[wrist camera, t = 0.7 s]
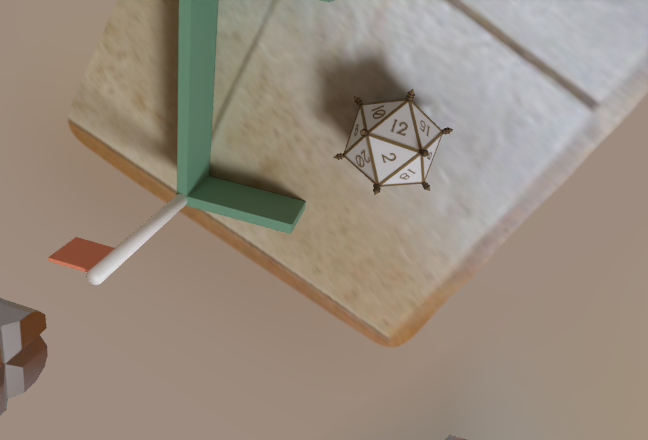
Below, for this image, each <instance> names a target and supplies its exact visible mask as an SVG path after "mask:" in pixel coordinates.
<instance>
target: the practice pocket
mask: <svg viewBox="0 0 648 440" xmlns="http://www.w3.org/2000/svg"><path fill="white" fill-rule="evenodd" d="M321 1H326V2H330V1H334V0H321ZM217 14H218V0H179V43H178V134H177V195H176V196H175V197H174V198H173V199H172V200H171V201H169V202H168V203H167V204H166V205H165V206H164V207H163V208H161V209H160V210H159V211H158V212H157V213H156V214H154V215H153V216H152V217H151V218H150V219H149V220H147V221H146V222H145V223H144V224H143V225H142V226H140V227H139V228H138V229H137V230H136V231H135V232H133V233H132V234H131V235H130V236H129V237H128V238H126V239H125V240H124V241H123V242H122V243H121V244H120V245H118V246H117V247H116V248H112V247H109V246H105V245H102V244H98V243H95V242H91V241H88V240H84V239H81V238H77V237H76V238H74V239H73V240H72V241H70V242H69V243H67V244H66V245H65V246H64V247H62V248H61V249H59V250H58V251H57V252H55V253H54V254H53V255H51V256H50V257H49V258H48V260H49V261H51V262H54V263H57V264H61V265H64V266H68V267H71V268H75V269H78V270H81V271H85V272H87V273H86V277H87V279H88V281H89V282H91V283H92V284H94V285H99V284H100V283H102V282H103V281H104V280H105V279H106V278H107V277H108V276H109V275H110V274H111V273H112V272H113V271H115V270H116V269H117V268H118V267H119V266H120V265H121V264H122V263H123V262H124V261H125V260H126V259H127V258H129V257H130V256H131V255H132V254H133V253H134V252H135V251H136V250H137V249H138V248H139V247H140V246H141V245H143V244H144V243H145V242H146V241H147V240H148V239H149V238H150V237H151V236H152V235H153V234H154V233H156V232H157V231H158V230H159V229H160V228H161V227H162V226H163V225H164V224H165V223H166V222H167V221H169V220H170V219H171V218H172V217H173V216H174V215H175V214H176V213H177V212H178V211H179V210H180V209H182V208H183V207H184V206H185V205H187V206H190V207H194V208H198V209H201V210H205V211H209V212H212V213H216V214H220V215H223V216H227V217H231V218H234V219H238V220H242V221H245V222H249V223H253V224H256V225H260V226H264V227H267V228H271V229H275V230H278V231H282V232H286V233H290V234H291V232H292V231H293V229H294V227H295V225H296V224H297V222H298V220H299V218H300V216H301V215H302V213H303V211H304V208H305V203H306V201H302V200H298V199H295V198H291V197H287V196H283V195H279V194H276V193H272V192H268V191H264V190H260V189H257V188H253V187H249V186H245V185H242V184H238V183H234V182H230V181H226V180H223V179H219V178H215V177H211V176H209V172H210V152H211V133H212V113H213V93H214V74H215V54H216V34H217Z"/></svg>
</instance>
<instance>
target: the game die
mask: <svg viewBox="0 0 648 440" xmlns="http://www.w3.org/2000/svg"><path fill="white" fill-rule="evenodd" d="M413 96H415V94H414V91H413V89H412V90H411V91H409V92H408V95H407V98H405V99H400V100H391V101H382V102H373V103H365V104H363V103H362V100H360V98H358V97H355V96H354V99H355V102H356V103H357V104H358V105H359V106H360V107H359V110H358V113H357V116H356V119H355V122H354V125H353V128H352V130H351V133H350V136H349V139H348V142H347V145H346V148H345V151H344V153H343V154H341V153H340V154H337V155H336V156H335V157H333V158H336V159H338V160H339V159H342V158H343V157H345V158H346V159H347V160H348V161H349V162H351V163H352V164H353V165H354V166H355V167H356V168H357V169H358V170H360V171H361V172H362V173H363V174H364V175H365V176H366V177H367V178H368V179H370V180H371V181H372V182H373V183H374V185H373V186H374V189H373V191H374V194H375V195H376V194H377V193H379V192H380V190H381V189H380V187H382V186H395V185H409V184H422V185H423V187H424V190H425V189H426V190H429V191H430V185H428V183H426V182H425V179H426V176H427V174H428V171H429V168H430V166H431V163H432V160H433V158H434V155H435V153H436V150H437V147H438V145H439V142H440V139H441V137H442V134H447V133H448V134H450V132H451V131H452V130H453V129H450V128H448V127H447V128H444V129H443V130H441V129H440V128H439V127H438V126H437V125H436V124H435V123H434V122H433V121H432V120H431V119H430V118H429V117H428V116H427V115H426V114H425V113H424V112H423V111H422V110H421V109H420V108H419V107H418V106H417V105H416V104H415V103H414V102H412V101H411V100H412V98H413Z"/></svg>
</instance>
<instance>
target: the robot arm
mask: <svg viewBox="0 0 648 440" xmlns="http://www.w3.org/2000/svg"><path fill="white" fill-rule="evenodd" d="M45 329H46V318H45V314H43V313H41V312H40V311H38V310H35V309H32V308H29V307H26V306H23V305H19V304H16V303H13V302H10V301H7V300H4V299H1V298H0V415H1V414H2V413H3V412H4V411H6V407H7V401H8V399H9V398H11V397H14V396H16V395H19V394H22V393H24V392H25V391H26V390H27V389H28V388H29V387H30V386H31V385H32V384H33V383H34V382H35V381H36V380H37V378H38V377H39V375H40V373H41V372H42V370H43V368H44V367H45V363H46V358H47V345H46V343H45V342H44V340H43V339H42V338H41V336H40V334H41V333H42V332H43V331H44V330H45ZM445 440H466V439H463V438H459V437H456V436H452V435H449V436H448V437H447V438H446V439H445Z"/></svg>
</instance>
